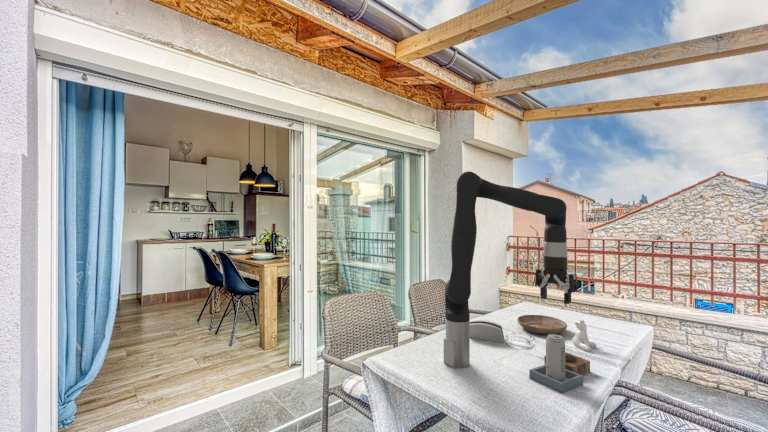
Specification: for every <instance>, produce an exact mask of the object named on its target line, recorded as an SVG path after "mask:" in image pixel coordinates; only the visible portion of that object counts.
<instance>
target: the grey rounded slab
mask: <svg viewBox="0 0 768 432" xmlns="http://www.w3.org/2000/svg"><path fill="white" fill-rule="evenodd" d="M503 330H504V329H503V327H502V325H501V324H500V323H496V322H494V321H490V320H484V319H483V320H482V319H476V320H475V319H474V320H470V339H471V338H472V339H478V340H485V341H492V342H497V343H504V342H505V341H504V340H505V335H504V331H503Z"/></svg>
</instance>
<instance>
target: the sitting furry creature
mask: <svg viewBox="0 0 768 432" xmlns="http://www.w3.org/2000/svg"><path fill="white" fill-rule="evenodd" d="M574 325H575V327H576V328H577V330H576V331H575V335H574V336H573V337H572V340H571V341H572V343H573V345H574V346H575V347H576V348H578V349H580V350H583V351H584V352H588V353H591V351H592V349H597V343H596V342H595V341H593V340H589V337H588V336H589V335H588V333H587V330H588V327H587V324H586V322H585V320H583V319H580V320H577V321H575V322H574ZM592 347H593V348H592Z"/></svg>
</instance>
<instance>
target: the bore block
mask: <svg viewBox="0 0 768 432" xmlns="http://www.w3.org/2000/svg"><path fill="white" fill-rule="evenodd" d="M544 365H546V355H544ZM565 369H567V370H569V371H572V372H574V373H577V374H579V375H582V376H584V375H586V374H588V373H590V372H591V360H589V359H585V358H583V357H581V356H578V355H574V354H572V353H570V352H569V353H568V352H566V351H565Z"/></svg>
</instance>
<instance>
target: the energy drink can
mask: <svg viewBox="0 0 768 432" xmlns="http://www.w3.org/2000/svg"><path fill="white" fill-rule="evenodd" d="M565 352H566V341H565V340H564V337H563V336H562V335H559V334H547V336H546V338H545V356H546V376H548V377H550V378H553V379H555V380H557V381H559V382H562V381H564V380H565Z"/></svg>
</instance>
